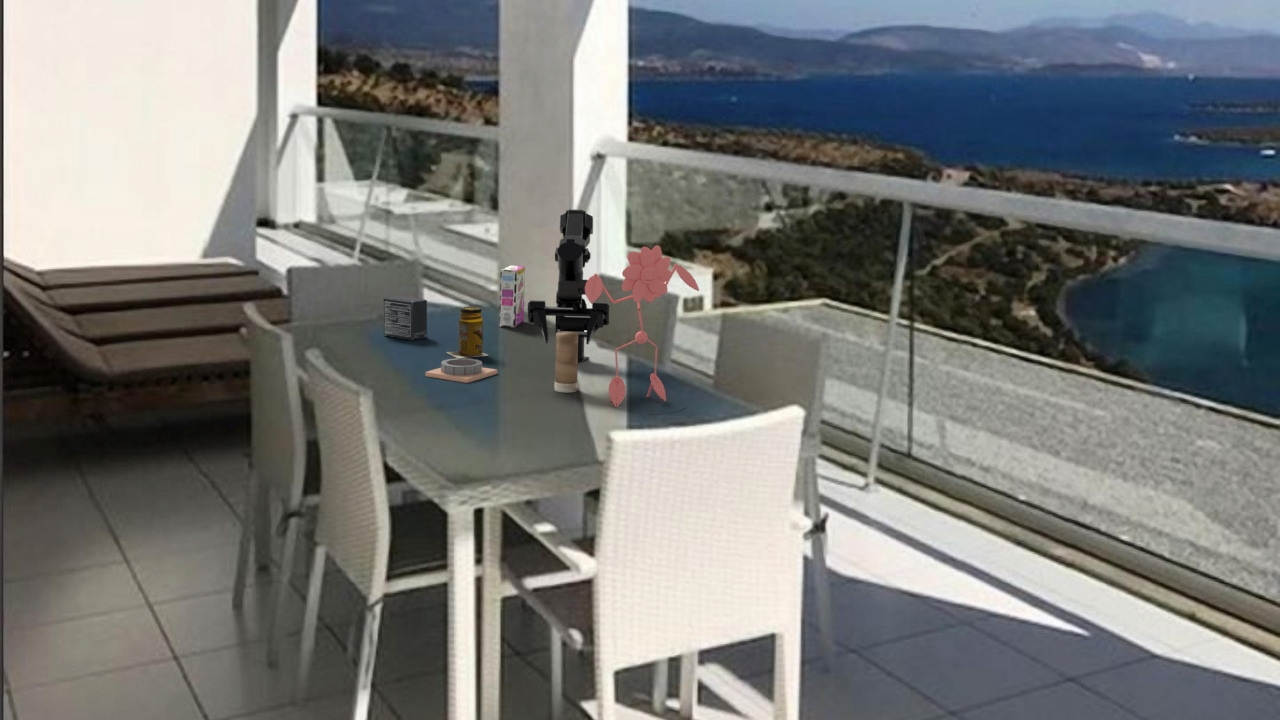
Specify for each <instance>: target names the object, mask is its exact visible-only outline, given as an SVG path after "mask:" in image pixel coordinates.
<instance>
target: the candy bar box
mask: <svg viewBox="0 0 1280 720" xmlns="http://www.w3.org/2000/svg"><path fill="white" fill-rule="evenodd" d="M499 271H500V275H499V276H500V277H499V278H500V281H499V283H500V284H499V286H500V287H499V322H498V323H499V327H501V328H513V329H515V328H516V327H518V326H519V325H520V324H522V323H523V322H524V319H525V288H526V287H525V286H526V285H525V282H526V280H525V279H526V266H524V265H523V266H522V265H509V266H506V267H504V268H502V269H500V270H499Z"/></svg>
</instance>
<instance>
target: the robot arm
mask: <svg viewBox="0 0 1280 720" xmlns="http://www.w3.org/2000/svg"><path fill="white" fill-rule="evenodd" d="M559 232H560V234H562V238H561V239H560V240H559V243H558V245H559V246H558V247H556V248H555V252H554V261H555V263H557V265H558V266H557V267H558V280H557V281H558V282H557V291H556V296H555V297H556V298H555V303H556V306H550V305H549V306H546V300H531V299H530V300H529V301H528V302H527V321H528V323H530V324H533V326H536V327H538V328H539V330H540V331H541V333H542V336H543V339H544V342H545V344H548V342H549V334H548V333H549V332H548V322H547V320H548V319H547V316H548V317H549V316H552V317H553V316H554V317H555V320H554V322H555V324H554V325H555V334H556V333H557V332H564V331H568V332H576V333H578V363H581V362H585V361H587V360H590V357H589V356H585V343H586V345H589V344H590V342H591V340H592V338H593V337H594V335H595V333H596V332H597V331H598V330H599V328H600V329H602V328H604V326H608V325H610V304H609V303H608V302H602V301H601V302H599V301H598V302H597V301H595V302H593V303H592V304H591V308H588V305H587V303H586V300H585V298H583V295H585V285H586V282H587V281H588V279H584V271H583V270H584V268H585V267H586V264H588V263H589V262H590V260H591V257H592V256H591V253H592V252H590V250H589V248H588V245H590V243H591V235H593V234H594V216H592V215H591V214H589V213H587V211H586V210H584V209H567V210H565V212H564V213H563V214H561V215H560V216H559ZM585 296H586V295H585ZM585 338H586V340H585ZM585 341H586V342H585Z"/></svg>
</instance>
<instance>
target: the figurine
mask: <svg viewBox="0 0 1280 720" xmlns="http://www.w3.org/2000/svg"><path fill="white" fill-rule="evenodd" d="M626 257H627V261H628V263H629V265H627V266H626V267H625V268H624V269H623V271H622V272H621V273H622V277H624V280H623V281H622V285H621V290H622V291H623V292H630V291H632V295H628V296H626V297H621V298H620V299H616V300H614V299H613V297H612V296H611V294H610V293H609V292H608V290H607V288H606V287H605V285H604V283H603V280H602V278H601V277H600V276H599V275H598V273H594V274H593V275H592V276H590V277H589V278H588V279H587V280H588V281H587V282H586V285H585V296H586V298H587V300H588V301H589V303H590V304H591V305H592V303H593V302H597V300H598V299H599V298H600V297H601V294H602V293H603V291H604V292H605V294H606V296H607V297H608V298H609V300H610V301H611V302H612V304H613V305H615V304H617V303H620V302H623V301H626V300H629V299H631V298H632V299H633V302H634V303H637V313H638V320H639V324H640V331H637V332H636V334H635V336H634V340H632V341H630V342H628V343H626V344H623V345H620V346H619V347H617V348H615V349H614V356H615V371H616V373H615V375H616V376H615V377H612V378H611V380H610V382H609V385H608V395H609V398H610V399H609V401H610V402H611V401H612V404H613V405H614V406H615V408H617V407H618V406H619V405H620V404H621V403H622V402H623V400H624V399H625V396H626V385H625V381H624V380H623V379H622V377H620V376H619V369H618V368H619V367H618V350H620V349H622V348H625V347H627V346H629V345H631V344H634V343H636V342H637V344H639V345H640V344H641V345H643V344H645V343H647V342H648V343H650V344H651V345H653V346H654V347H655V353H654V354H655V356H654V357H655V358H654V373H651V374H650V375H649V379H650V385H649V388H648V391H647V394H646V397H650V394H651V392H652V389H653V391H654V392H655V394H657V396H658V397H659V398H660V399H661V400H663V402H667V396H666V389H665V387H664V384H663V382H662V380H661V379H660V378H659V376H658V375H657V362H658V345H656V343H654V342H652V341H651V340H650V339H648V336H649V335H648V334H647V333H646V332H645V331H644V327H643V319H642V310H641V303H640V302H641V301H642V300H644V301H646V302H647V303H652V302H654V300H655V298H661V296H663V295H666V294H667V292H668V284H669V282H670V281H671V279H672V277H673V275H674V273H675V271H676V273H677V275H678V277H679V278H680V279H681V280H682V281H683V283H685V284H686V285H687V286H688V287H689V288H691V289H693V290H695V291H697V292H700V289H699V286H698V283H697V282H696V279H695V278H694V277H693V275H692V274H691V273H690V272H689V271H688V270H687V269H686V268H685V267H683V266H682V265H679V264H677V263H674V265H673V269H672V270H670V269H669V268H670V265H671V257H670V256H666V257H663V251H662V249H661V247H660V245H655V246H654V247H652V249H650V248H649V247H648V246H642V247H641V248H640V252H638V251H630V252H629V253H628V254H627V255H626ZM646 397H645V398H646Z"/></svg>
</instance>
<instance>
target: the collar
mask: <svg viewBox="0 0 1280 720" xmlns="http://www.w3.org/2000/svg"><path fill="white" fill-rule="evenodd" d="M424 374H425V377H429V378H435V379H440V380H446V381H447V380H448V381H451V382H452V381H453V382H460V383H466V384H468V383H471V382H475V381H477V380H481V379H485V378H487V377H491V376H495V375H498V369H495V368H488V367H483V361H482V360H479V359H474V358H468V357H465V358H456V357H455V358H449V359H448V358H447V359H444V360H442V361H441V363H440V367H437V368H435V369H431V370H428V371H425V373H424Z"/></svg>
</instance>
